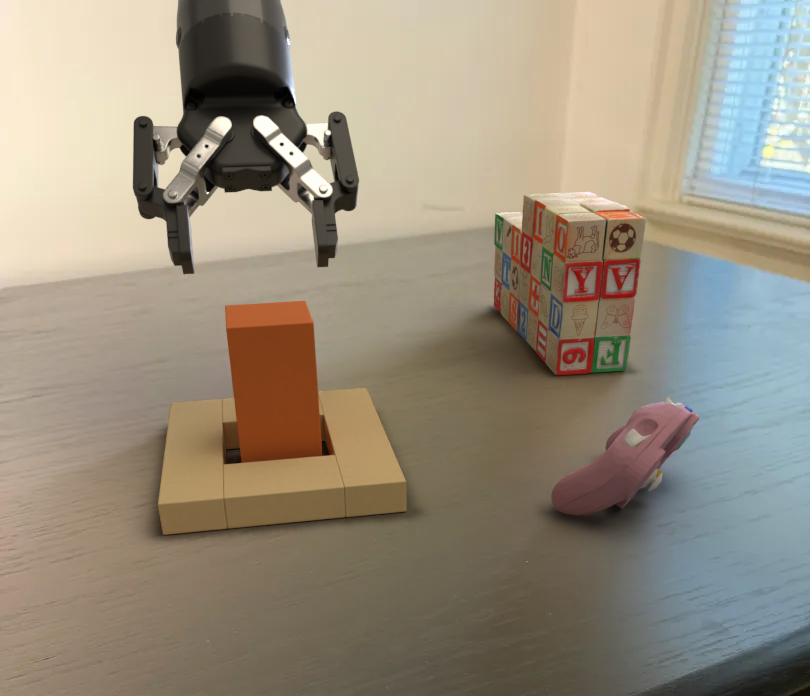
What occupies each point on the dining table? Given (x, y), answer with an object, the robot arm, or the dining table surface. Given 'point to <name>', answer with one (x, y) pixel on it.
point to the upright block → (274, 380)
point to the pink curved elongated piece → (627, 460)
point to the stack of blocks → (570, 278)
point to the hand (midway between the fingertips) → (255, 263)
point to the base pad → (276, 469)
